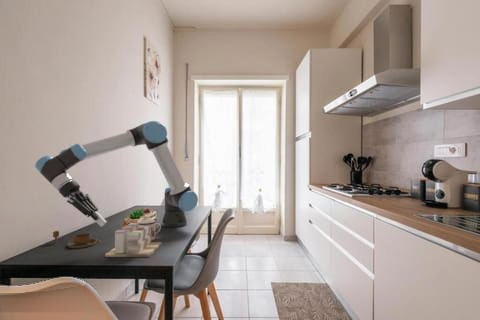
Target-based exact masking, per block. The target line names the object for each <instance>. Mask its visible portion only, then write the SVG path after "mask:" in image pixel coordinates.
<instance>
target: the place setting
mask: <svg viewBox="0 0 480 320" xmlns="http://www.w3.org/2000/svg"><path fill="white" fill-rule="evenodd" d="M52 236H53V238H54V244H58V238H59V237H60V231H59V230H56V231H55V230H54V231H53V232H52ZM91 236H92V234H91V233H80V234H75V235H74V236H73V240H72V241H69V242H68V243H66V244H67V245H66V246H67V247H68V248H69V249H84V248H89V247H92V246H95V245H96V244H97V243H98V242H99V243H101V244H102V243H103V241H101V240H100V239H99V238H92V237H91ZM55 247H56V248H59V247H60V245H57V246H55Z"/></svg>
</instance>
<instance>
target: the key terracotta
mask: <svg viewBox="0 0 480 320" xmlns="http://www.w3.org/2000/svg"><path fill="white" fill-rule="evenodd" d="M120 230H127V234H129V233H131V232H132V231H133V226H128V225H127V226H125V225H124V226H123V227H121V228H120Z"/></svg>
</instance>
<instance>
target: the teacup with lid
mask: <svg viewBox="0 0 480 320" xmlns="http://www.w3.org/2000/svg"><path fill="white" fill-rule="evenodd" d="M136 223H139V225H138V228H139V227H140V226H142V225H151V242H152V241H153V240H155V239H156V234H158V233H160V231H161V229H162V224H160V223H159V222H156V220H155V219H153V218H151V217H149V215H144V216H143V218H141V219H138V220H137V221H136ZM157 225H158V226H159V227H158V230H156V226H157Z"/></svg>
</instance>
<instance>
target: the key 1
mask: <svg viewBox="0 0 480 320" xmlns="http://www.w3.org/2000/svg"><path fill="white" fill-rule="evenodd" d="M114 248H115V253H124V252H126V251H127V230H121V229H117V230H115V231H114Z"/></svg>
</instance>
